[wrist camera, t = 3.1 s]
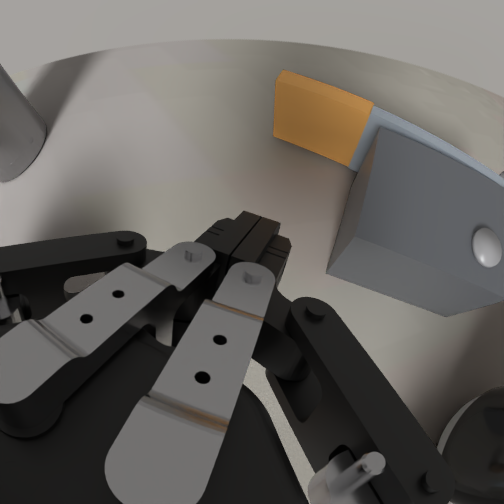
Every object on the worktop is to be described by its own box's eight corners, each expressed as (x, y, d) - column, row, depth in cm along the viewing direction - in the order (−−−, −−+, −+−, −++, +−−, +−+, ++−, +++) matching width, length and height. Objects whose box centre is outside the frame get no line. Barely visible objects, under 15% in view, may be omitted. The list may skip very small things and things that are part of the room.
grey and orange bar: (273, 137, 27) (275, 78, 20) (280, 124, 27) (284, 65, 20) (464, 227, 24) (510, 192, 17) (466, 212, 24) (510, 175, 17)
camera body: (325, 273, 24) (356, 233, 16) (351, 185, 26) (381, 123, 18) (469, 325, 22) (536, 309, 14) (480, 241, 24) (537, 204, 16)
